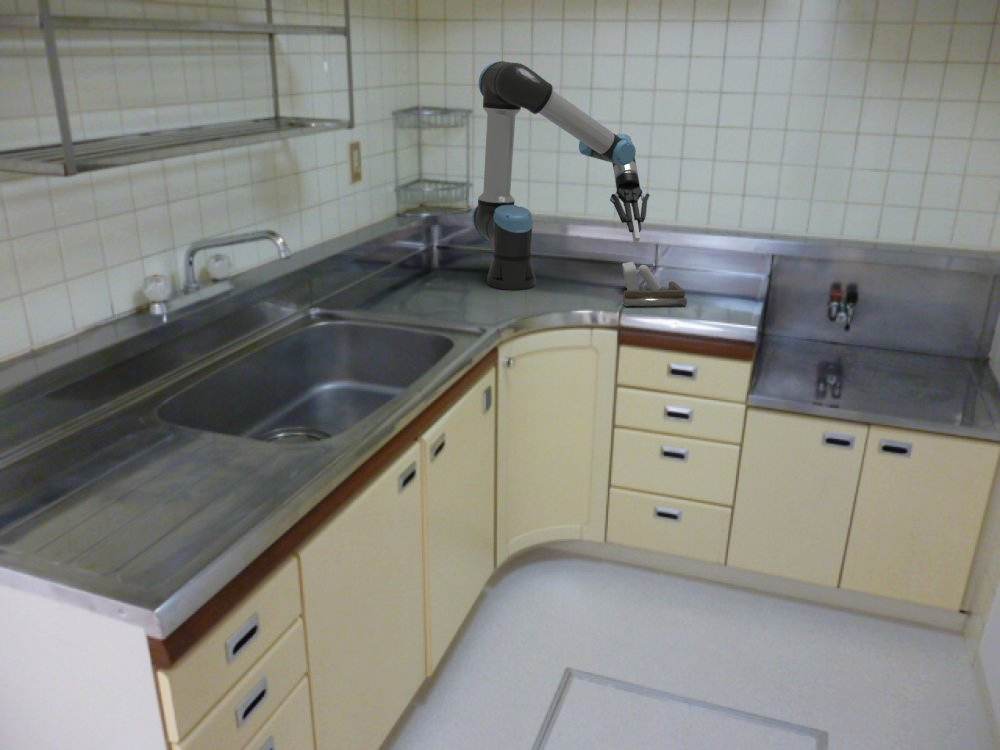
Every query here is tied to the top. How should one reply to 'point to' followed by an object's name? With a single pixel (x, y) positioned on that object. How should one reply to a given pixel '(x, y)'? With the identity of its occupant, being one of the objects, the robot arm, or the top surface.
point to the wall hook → (632, 278)
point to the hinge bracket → (656, 297)
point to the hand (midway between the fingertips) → (636, 240)
